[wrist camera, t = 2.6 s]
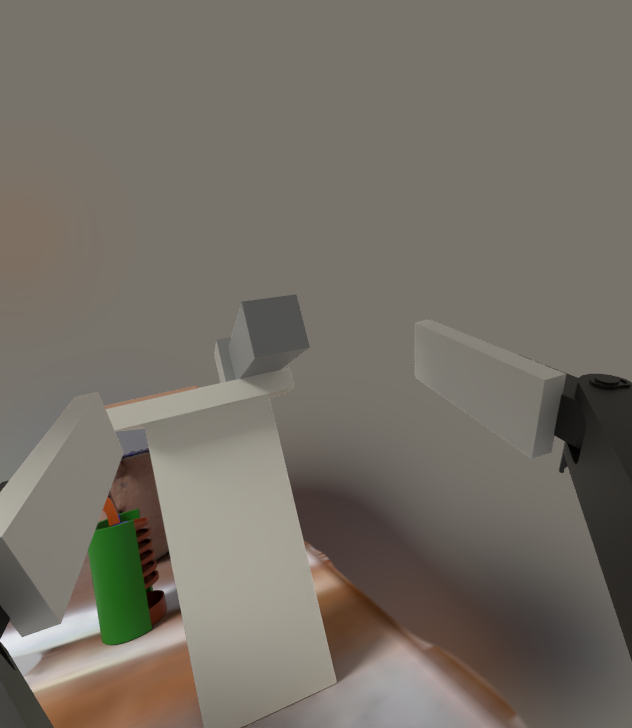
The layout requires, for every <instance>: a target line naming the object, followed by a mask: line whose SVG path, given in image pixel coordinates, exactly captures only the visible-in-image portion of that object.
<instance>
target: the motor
mask: <svg viewBox="0 0 632 728" xmlns="http://www.w3.org/2000/svg"><path fill="white" fill-rule="evenodd" d="M102 511H104V512H105V513H106V515H107V519H105V520H102V521H100V522H98V524H97V527H96V529H95V532H94V535H93V537H92V540H91V543H90V546H89V548H88V553H89V559H90V566H91V572H92V579H93V585H94V592H95V598H96V605H97V611H98V618H99V624H100V631H101V638H102V642H103V643H104V644H108V645H114V644H120V643H124V642H127V641H130V640H133V639H135V638H137V637H139V636H142V635H143V634H145V633H147V632H149V631H151V630H152V625H153V624H155V623H156V622H157V621H158V620H159V619H161V618H162V617H163V615H164V614H165V613H166V610H167V606H166V600H165V595H164V592H163V591H161V590H155V591H153V588H152V585H153V584H154V583H155V582H156V581H157V580H158V578H159V574H158V571H157V570H155V569H156V567H157V563H156V560H154V559H153V558H154V556H155V551H154V549H149V548H150V547H152V545H153V540H152V538H147V537H148V536H150V535H151V528H143V527H145V526H146V525H148V524H149V518H148V517H143V518H140V512H139V508H138V509H134V510H131V511H127V512H124V513H121V514H117V511H116V509H115V506H114V504H113V502H112V500H111V499H110V498H109V497H107V499H106V502H105V505H104V508H103V510H102Z"/></svg>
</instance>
